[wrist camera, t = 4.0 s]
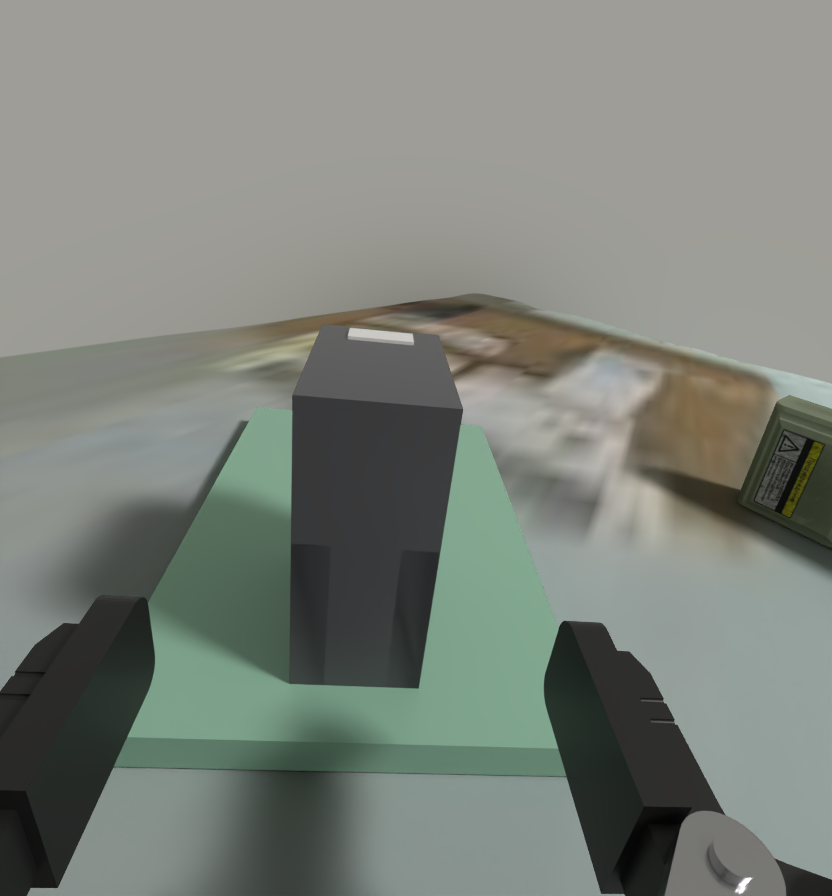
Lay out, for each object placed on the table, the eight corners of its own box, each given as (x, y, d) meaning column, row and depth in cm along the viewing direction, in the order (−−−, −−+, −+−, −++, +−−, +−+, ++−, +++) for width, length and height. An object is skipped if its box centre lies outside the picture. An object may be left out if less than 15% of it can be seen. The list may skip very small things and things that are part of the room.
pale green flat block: (594, 777, 16) (646, 645, 13) (81, 765, 14) (44, 619, 12) (478, 442, 35) (491, 366, 33) (257, 425, 34) (255, 345, 32)
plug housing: (418, 688, 16) (463, 405, 12) (289, 684, 16) (292, 390, 12) (410, 555, 22) (439, 332, 18) (314, 549, 22) (322, 321, 18)
